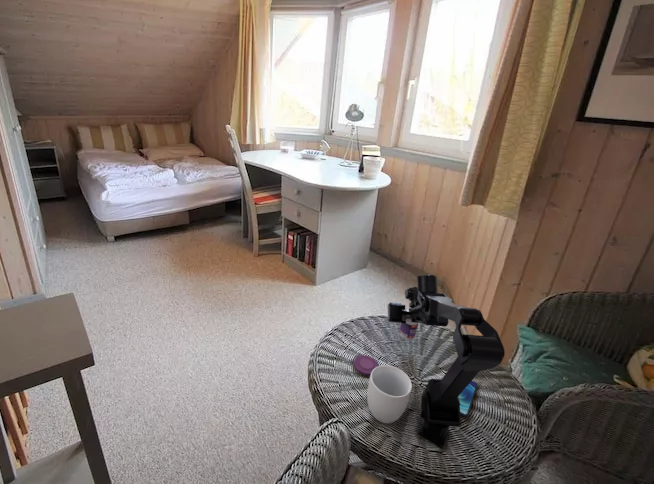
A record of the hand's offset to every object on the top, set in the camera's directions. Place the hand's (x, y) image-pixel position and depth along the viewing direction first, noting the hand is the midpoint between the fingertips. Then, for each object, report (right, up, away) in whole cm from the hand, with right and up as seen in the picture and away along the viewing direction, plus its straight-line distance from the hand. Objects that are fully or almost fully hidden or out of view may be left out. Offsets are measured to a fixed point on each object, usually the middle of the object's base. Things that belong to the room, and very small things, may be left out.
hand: (409, 317), depth 124 cm
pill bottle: (0, -7, +2) cm, 7 cm away
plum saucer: (-17, -14, -7) cm, 23 cm away
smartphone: (+9, -20, -16) cm, 27 cm away
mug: (-15, -22, -22) cm, 34 cm away
